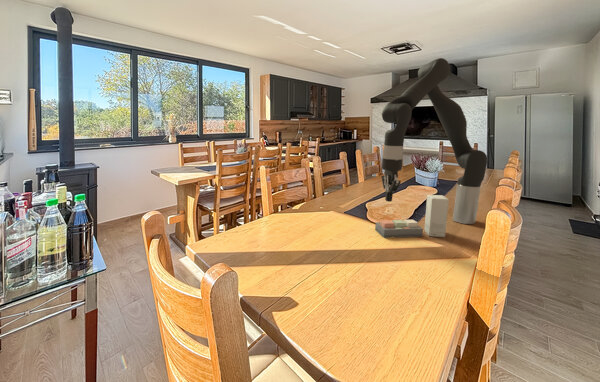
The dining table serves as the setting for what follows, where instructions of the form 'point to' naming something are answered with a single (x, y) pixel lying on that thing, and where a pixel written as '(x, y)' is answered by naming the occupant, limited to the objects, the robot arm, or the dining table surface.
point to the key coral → (387, 224)
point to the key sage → (399, 223)
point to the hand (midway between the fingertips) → (388, 201)
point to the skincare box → (436, 215)
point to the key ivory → (411, 223)
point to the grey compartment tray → (399, 231)
